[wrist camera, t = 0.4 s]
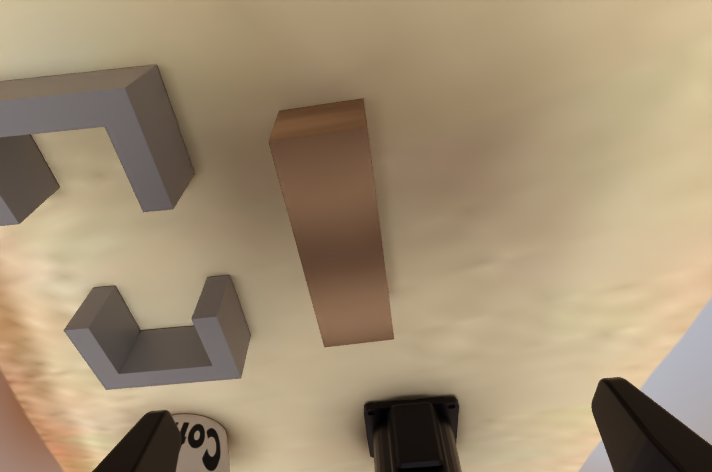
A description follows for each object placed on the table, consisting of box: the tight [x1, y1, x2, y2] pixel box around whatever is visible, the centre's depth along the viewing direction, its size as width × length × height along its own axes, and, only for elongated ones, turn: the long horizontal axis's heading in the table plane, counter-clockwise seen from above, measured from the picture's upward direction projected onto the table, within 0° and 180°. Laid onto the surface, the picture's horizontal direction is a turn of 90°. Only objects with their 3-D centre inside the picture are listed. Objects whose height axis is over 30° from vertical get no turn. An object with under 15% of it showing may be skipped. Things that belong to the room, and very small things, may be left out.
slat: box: [269, 99, 394, 347], centre depth 20 cm, size 11×4×4 cm, turn 8°
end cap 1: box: [0, 65, 194, 226], centre depth 17 cm, size 5×7×3 cm, turn 95°
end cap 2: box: [64, 275, 251, 390], centre depth 23 cm, size 5×7×3 cm, turn 95°
